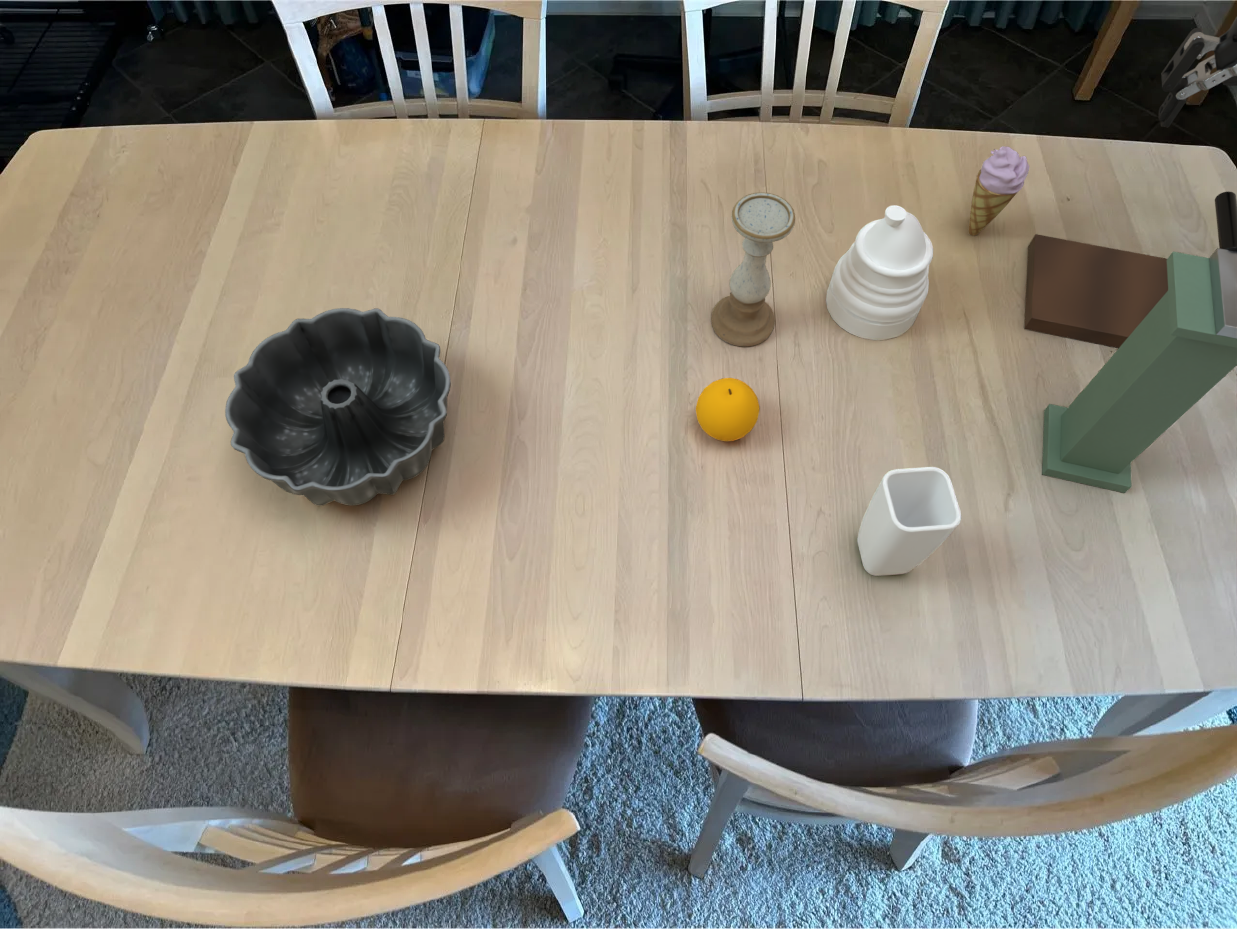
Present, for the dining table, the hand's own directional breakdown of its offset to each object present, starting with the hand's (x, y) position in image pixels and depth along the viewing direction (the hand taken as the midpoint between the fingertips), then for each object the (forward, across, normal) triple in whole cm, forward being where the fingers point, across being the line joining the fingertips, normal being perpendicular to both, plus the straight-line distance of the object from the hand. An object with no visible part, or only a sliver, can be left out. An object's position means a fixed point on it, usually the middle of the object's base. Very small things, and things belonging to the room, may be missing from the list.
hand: (1203, 129), depth 95 cm
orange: (+28, -45, -35) cm, 64 cm away
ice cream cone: (+28, -16, +8) cm, 33 cm away
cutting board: (+28, +2, -1) cm, 28 cm away
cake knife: (-1, 0, -22) cm, 22 cm away
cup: (+28, -23, -48) cm, 60 cm away
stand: (+28, 0, -27) cm, 39 cm away
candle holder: (+28, -46, -18) cm, 57 cm away
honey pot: (+28, -29, -10) cm, 42 cm away
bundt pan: (+28, -90, -48) cm, 106 cm away
